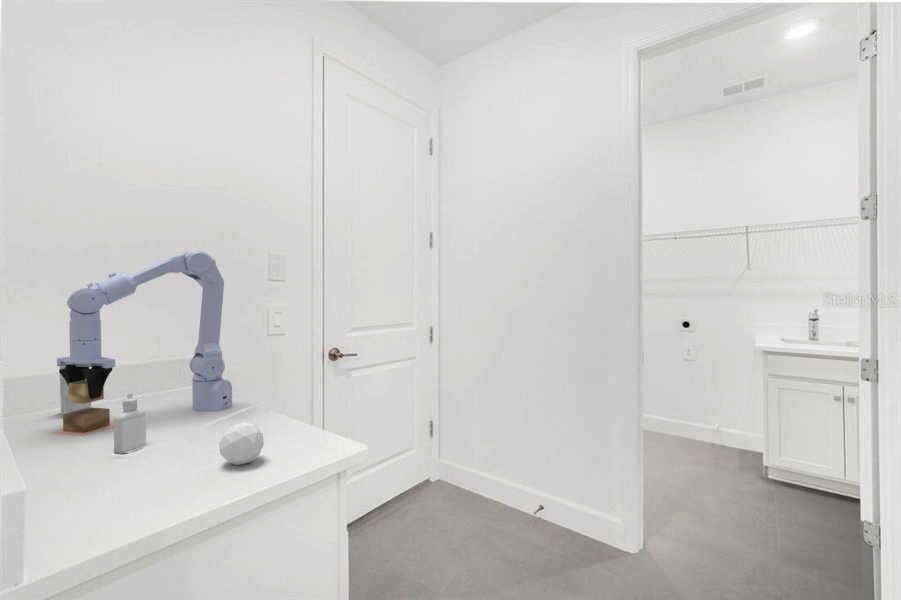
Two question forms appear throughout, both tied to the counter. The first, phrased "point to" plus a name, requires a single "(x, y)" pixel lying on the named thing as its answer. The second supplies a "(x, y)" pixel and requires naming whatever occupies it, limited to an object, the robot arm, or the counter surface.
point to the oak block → (81, 393)
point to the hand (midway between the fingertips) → (86, 397)
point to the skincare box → (64, 398)
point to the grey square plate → (82, 433)
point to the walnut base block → (86, 420)
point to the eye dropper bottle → (129, 427)
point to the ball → (241, 443)
